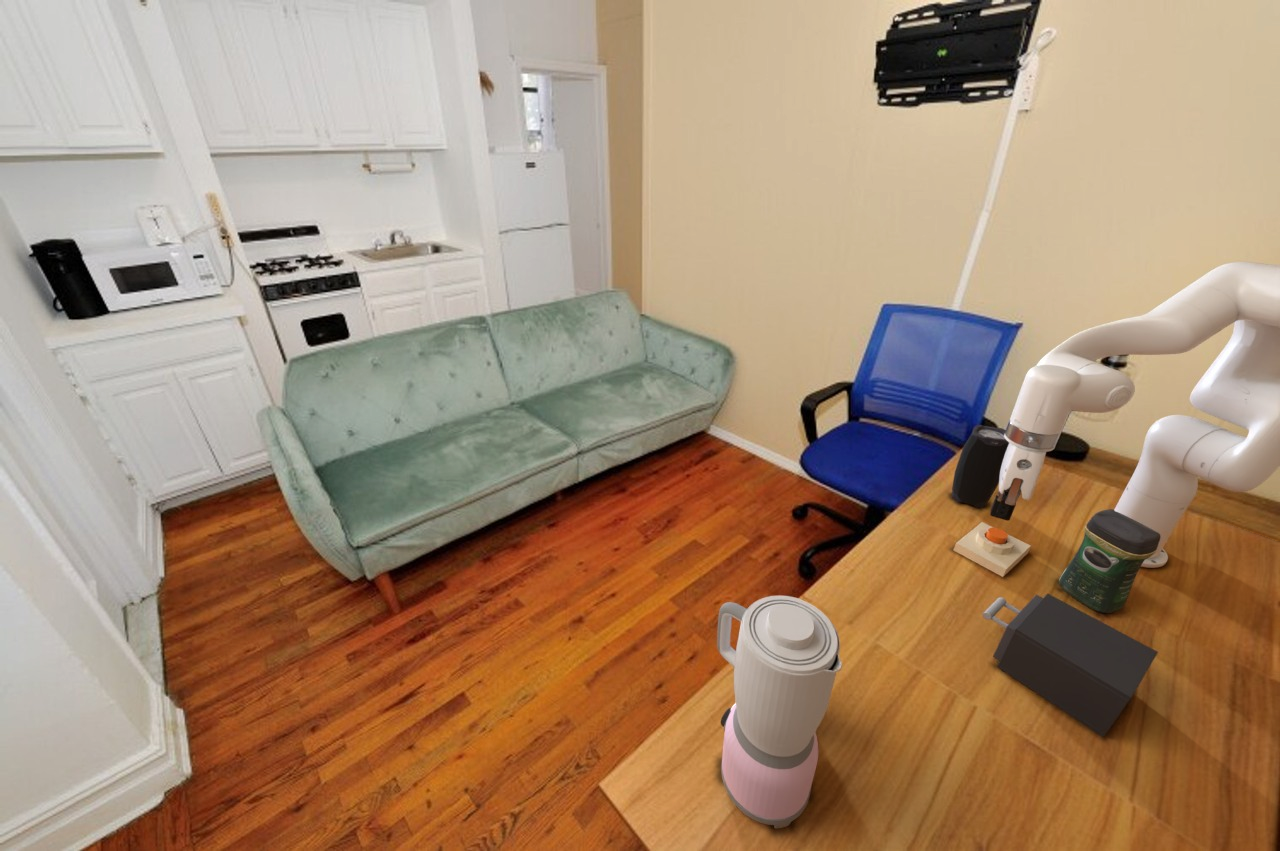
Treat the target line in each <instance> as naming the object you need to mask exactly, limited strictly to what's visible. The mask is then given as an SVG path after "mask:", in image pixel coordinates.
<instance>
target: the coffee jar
mask: <svg viewBox="0 0 1280 851" xmlns="http://www.w3.org/2000/svg"><path fill="white" fill-rule="evenodd" d="M1160 537H1161V536H1160V534H1159V533H1158V532H1156V531H1154V530H1152V529H1151V528H1148V527H1147V526H1145V525H1143V524H1141V523H1139V522H1137V521H1135V520H1133V519H1131V518H1129V517H1127V516H1125V515H1123V514H1121V513H1118V512H1116V511H1115V510H1114V509H1113V508H1109V509H1104V510H1100V511H1097V512H1095V513H1094V514H1093V516H1091V518H1090V519H1089V521H1088V522H1087V523H1086V524H1085V526H1084V536H1083V539H1082V542H1081V544H1080V546H1079V547H1078V550H1077V552H1076V553H1075V554H1074V556H1073V558H1072V559H1071V560H1070V562H1069V564H1068V565H1067V566H1066V568H1065V569H1064V571H1063V572H1062V573H1061V575H1060V577H1059V580H1058V585H1059V587H1060V588H1061V589H1062V590H1063V591H1064V592H1065V593H1066V594H1068V595H1069V596H1070V597H1071V598H1073V599H1074V600H1076V601H1078V602H1079V603H1080V604H1082V605H1084V607H1087V608H1088V609H1090V610H1092V611H1094V612H1096V613H1102V614H1112V613H1116V612H1118V611H1120V610H1122V609H1123V608H1124V606H1125V604H1126V603H1127V600H1128V598H1129V595H1130V592H1131V590H1132V587H1133V584H1134V582H1135V579H1136V577H1137V575H1138V572H1139V570H1140V568H1141V567H1140V566H1141V565H1142V563H1143V562H1144V560H1145V559H1147V558H1149V557H1151V556H1152V555H1153V554H1154V553H1155V552H1156V550H1157V547H1158V544H1159V541H1160Z"/></svg>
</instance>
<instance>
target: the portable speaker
mask: <svg viewBox="0 0 1280 851" xmlns="http://www.w3.org/2000/svg"><path fill="white" fill-rule="evenodd" d="M1005 431H1006V429H1004V428H1002V427H995V426H994V427H993V426H987V425H982V424H976V425H975V426H974V427H973V428H972V431H971V434H970V435H969V437H968V438H967V441H966V442H965V444H964V445H963V447H962V450H961V453H960V455H959V458H958V462H957V465H956V467H955V470H954V474H953V481H952V487H951V499H952V500H954V501H955V502H956V503H957V504H961V503H963V504H964V503H965V504H967V505H969V506H974V508H975V509H983V508H985V507H986V506H987V504H988V502H989V501H990V499H991V498H992V496H993V494H994V493H995V491H996V489H997V487H999V477H1000V470H1001V466H1002V462H1003V459H1004V456H1005V453H1006V450H1007V447H1008V445H1009V442H1008V441H1007V440H1006V439H1005V438H1004V434H1005Z"/></svg>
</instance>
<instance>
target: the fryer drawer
mask: <svg viewBox="0 0 1280 851" xmlns="http://www.w3.org/2000/svg"><path fill="white" fill-rule="evenodd" d="M1043 598H1044V597H1042V596H1040V595H1038V594H1035V595H1034V596H1033V597H1032V598H1031V599H1030V601H1029V602H1028V603H1027V604H1026V605H1025V606H1024V607H1023V608H1022V609H1019V608H1017V607H1015V606H1013V605H1012V604H1010V603H1008V602H1007V600H1006V599H1005V598H1004V597H1003V596H1000V597H998V598H996V600H994V602H992V603H991V604H990V606H988V607H987V609H985V610H984V611H983V613H982V617H983V619H985V620H987V621H993V622H994V623H996V624H998V625H1000V626H1001V627H1003V628H1004V632H1003V634H1002V636H1001V638H1000V640H999V643H998V645H997V647H996V649H995V651H994V653H993V655H992V658H994V659H996V660H997V661H999V662H1000V660H1001V658H1002V656H1003V654H1004V652H1005V650H1006V648H1007V646H1008V644H1009V641H1010V639H1011V637H1012V635H1013V633H1014V631H1015V629H1016V628H1017V627H1018V625H1019V624H1020V623H1021V622H1022V621H1023V620H1024V619H1025V618H1026V617H1027V615H1028V614H1029V613H1030V612H1031V611H1032V610H1033V609H1034V608H1035V607H1036V606H1037V604H1038V603H1039V602H1040V601H1041V600H1042V599H1043ZM1003 608H1006V609H1008V610H1010V611H1012V613H1015V614H1017V615H1016V616H1014V618H1012V620H1011V621H1010V622H1009V623H1007V622H1005V621H1003V620H1002V619H1000V618H998V617H997V616H996V615H997V614H998V613H999V612H1000V611H1001V610H1002V609H1003Z"/></svg>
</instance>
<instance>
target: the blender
mask: <svg viewBox="0 0 1280 851" xmlns="http://www.w3.org/2000/svg"><path fill="white" fill-rule="evenodd" d="M718 611H719V613H718V618H717V632H716V633H717V634H716V645H717V646H716V647H717V650H718V652H719V654H720V655H721V657H722V658H723V659H724V660H725V661H726V662H728V664H730V665H731V666H732V667H733V692H734V700H735V703H734V704H733V705H732V706H731V707H728V708H727V709H726V710H725V711H724V713H723V714H722V716H721V719H720V725H721V726H722V727H723V732H724V735H723V744H722V757H721V765H720V766H721V767H720V771H721V779H722V783H723V786H724V789H725V791H726V793H727V795H728V797H729V798H730V800H731V802H732V803H733V804H734V805H735V806H736V808H737V809H738V810H739V811H740V812H741V813H742V814H744V815H745V816H747V817H748V818H750V819H752V820H753V821H756V822H758V823H760V824H764V825H768V826H773V827H774V829H782V828H786V827H789V826H790V825H791V823H792V822H793V821H795V820H796V819H798V818H799V817H800V816H801V814H803V812H804V811H805V809H806V807H807V805H808V803H809V800H810V798H811V797H810V796H811V792H812V785H813V781H814V778H815V773H816V770H817V765H818V760H819V742H818V737H817V733H816V732H817V729H818V728H819V726H820V724H821V723H822V720H823V719H824V716H825V714H826V712H827V709H828V707H829V705H830V704H829V703H830V700H831V696H832V691H833V687H834V684H835V680H836V675H837V672H839V671H842V667H843V663H842V661H841V658H840V650H841V649H840V648H841V641H840V636H839V634H838V631H837V629H836V627H835V625H834V623H833V622H832V621H831V620H830V618H829V617H828V616H827V615H826V613H824V612H823V611H821V610H820V609H819V608H818V607H816V606H815V605H813V604H812V603H810V602H808V601H806V600H803V599H801V598H798V597H794V596H790V595H780V594H779V595H770V596H765V597H762V598H759V599H758V600H756V601H754V602H753V603H751V604H749V607H747V608H746V607H744V606H742V605H741V604H739V603H737V602H734V601H729V602H724V603H723V604H722V605H721V606H720V608H719V610H718ZM733 618H734V619H735V620H737V621H739V622H740V627H739V632H738V637H737V643H736V648H735V649H734V648H733V647H732V646H731V631H732V623H733V622H732V621H733Z"/></svg>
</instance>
